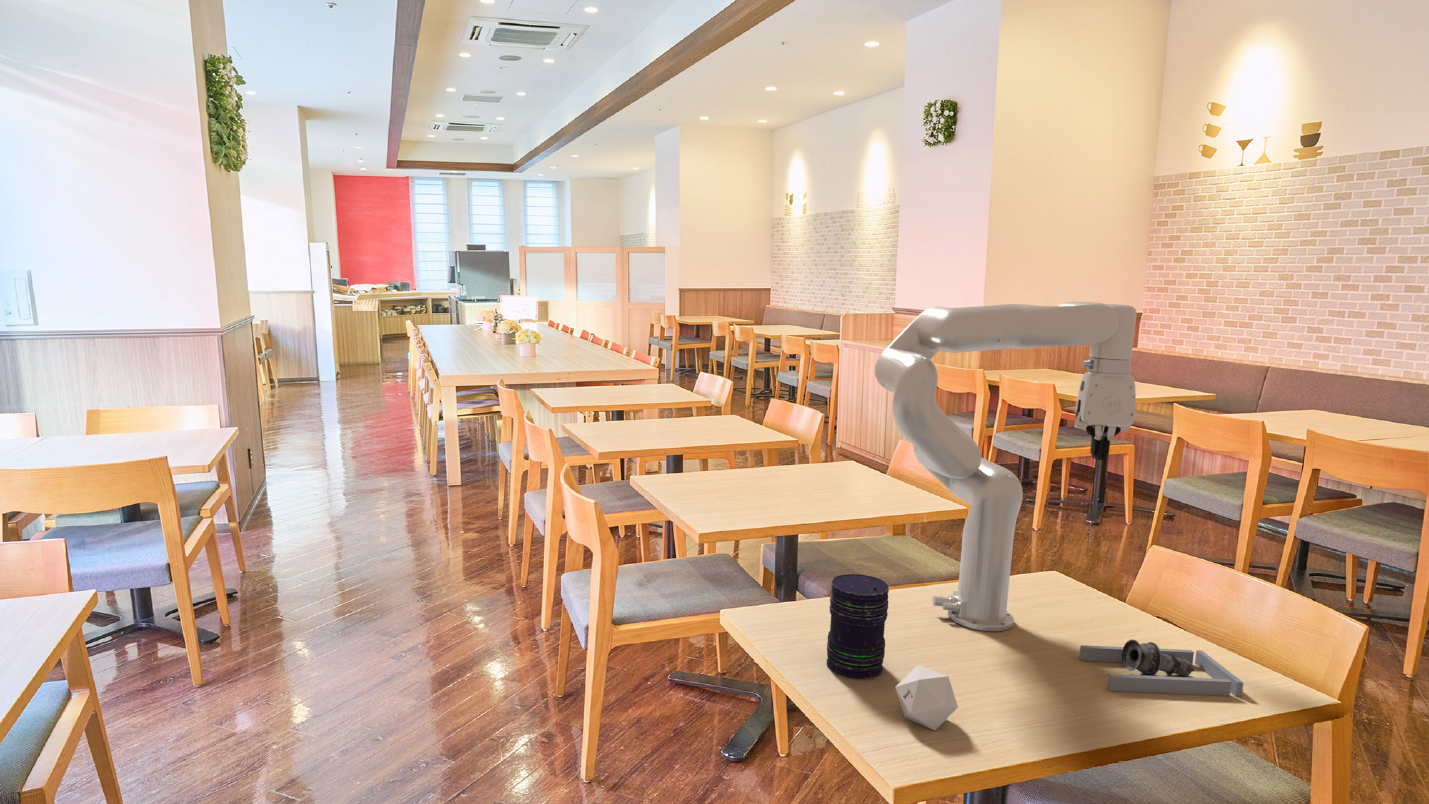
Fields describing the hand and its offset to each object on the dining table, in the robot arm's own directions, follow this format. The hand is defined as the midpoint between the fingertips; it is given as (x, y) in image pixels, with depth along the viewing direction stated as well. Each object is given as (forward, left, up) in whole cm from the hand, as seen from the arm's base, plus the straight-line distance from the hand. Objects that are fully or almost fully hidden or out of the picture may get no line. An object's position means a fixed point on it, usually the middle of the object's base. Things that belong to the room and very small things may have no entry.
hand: (1098, 458), depth 164 cm
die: (-43, -44, -33) cm, 70 cm away
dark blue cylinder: (-51, -27, -33) cm, 67 cm away
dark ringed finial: (-3, -26, -29) cm, 39 cm away
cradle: (+1, -26, -33) cm, 42 cm away
